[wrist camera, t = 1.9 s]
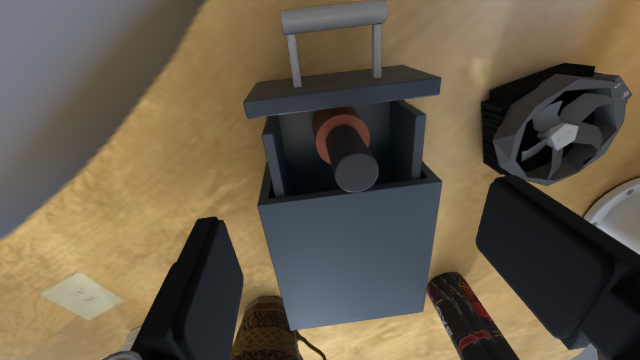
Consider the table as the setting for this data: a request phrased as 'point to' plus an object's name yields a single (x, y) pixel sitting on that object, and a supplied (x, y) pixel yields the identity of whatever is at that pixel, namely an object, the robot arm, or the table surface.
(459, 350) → the deodorant
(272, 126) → the drawer
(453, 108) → the table surface
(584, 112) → the cpu cooler
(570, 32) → the table surface
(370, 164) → the nail polish bottle
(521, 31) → the table surface
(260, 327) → the ceramic cup
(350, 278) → the cabinet
